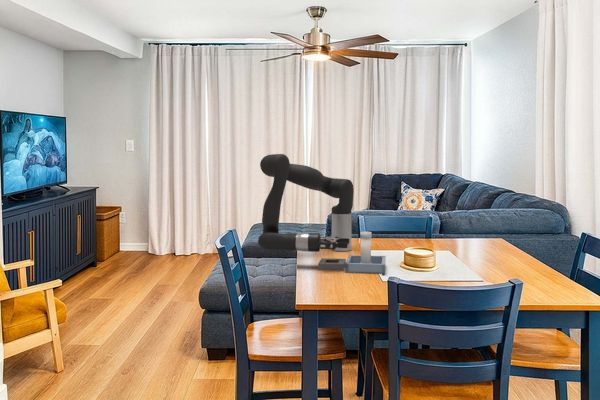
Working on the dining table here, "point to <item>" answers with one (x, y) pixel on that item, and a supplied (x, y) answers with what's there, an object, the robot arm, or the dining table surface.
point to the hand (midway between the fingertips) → (348, 243)
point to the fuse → (366, 247)
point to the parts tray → (365, 265)
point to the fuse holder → (331, 264)
